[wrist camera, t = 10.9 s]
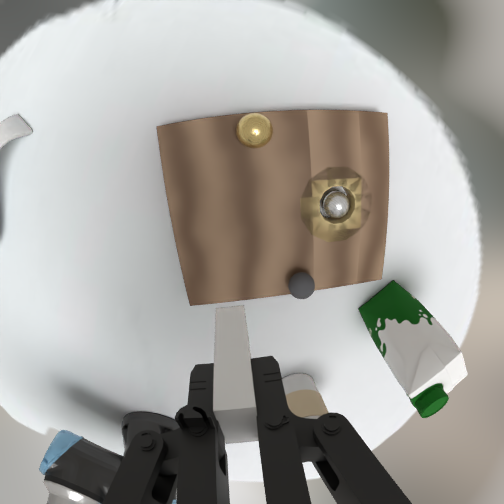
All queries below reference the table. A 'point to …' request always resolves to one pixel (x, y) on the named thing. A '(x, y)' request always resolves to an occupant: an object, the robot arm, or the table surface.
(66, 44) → the table surface
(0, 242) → the table surface
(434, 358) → the milk carton
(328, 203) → the steel ball
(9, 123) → the white curved piece
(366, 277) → the board
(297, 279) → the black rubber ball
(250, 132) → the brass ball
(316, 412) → the coffee cup
